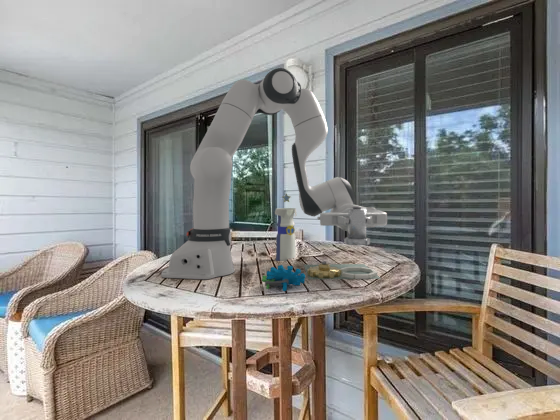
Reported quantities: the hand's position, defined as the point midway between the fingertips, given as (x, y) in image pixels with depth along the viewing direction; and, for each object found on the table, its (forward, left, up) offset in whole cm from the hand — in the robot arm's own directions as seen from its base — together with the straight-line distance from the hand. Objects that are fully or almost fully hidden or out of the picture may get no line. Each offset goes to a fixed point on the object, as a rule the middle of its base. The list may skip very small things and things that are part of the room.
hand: (358, 220), depth 94 cm
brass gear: (-10, +1, -16) cm, 18 cm away
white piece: (-20, +29, -17) cm, 39 cm away
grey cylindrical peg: (0, +1, -7) cm, 7 cm away
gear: (-21, -12, -17) cm, 30 cm away
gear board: (-5, +5, -17) cm, 18 cm away
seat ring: (0, +1, -16) cm, 16 cm away
